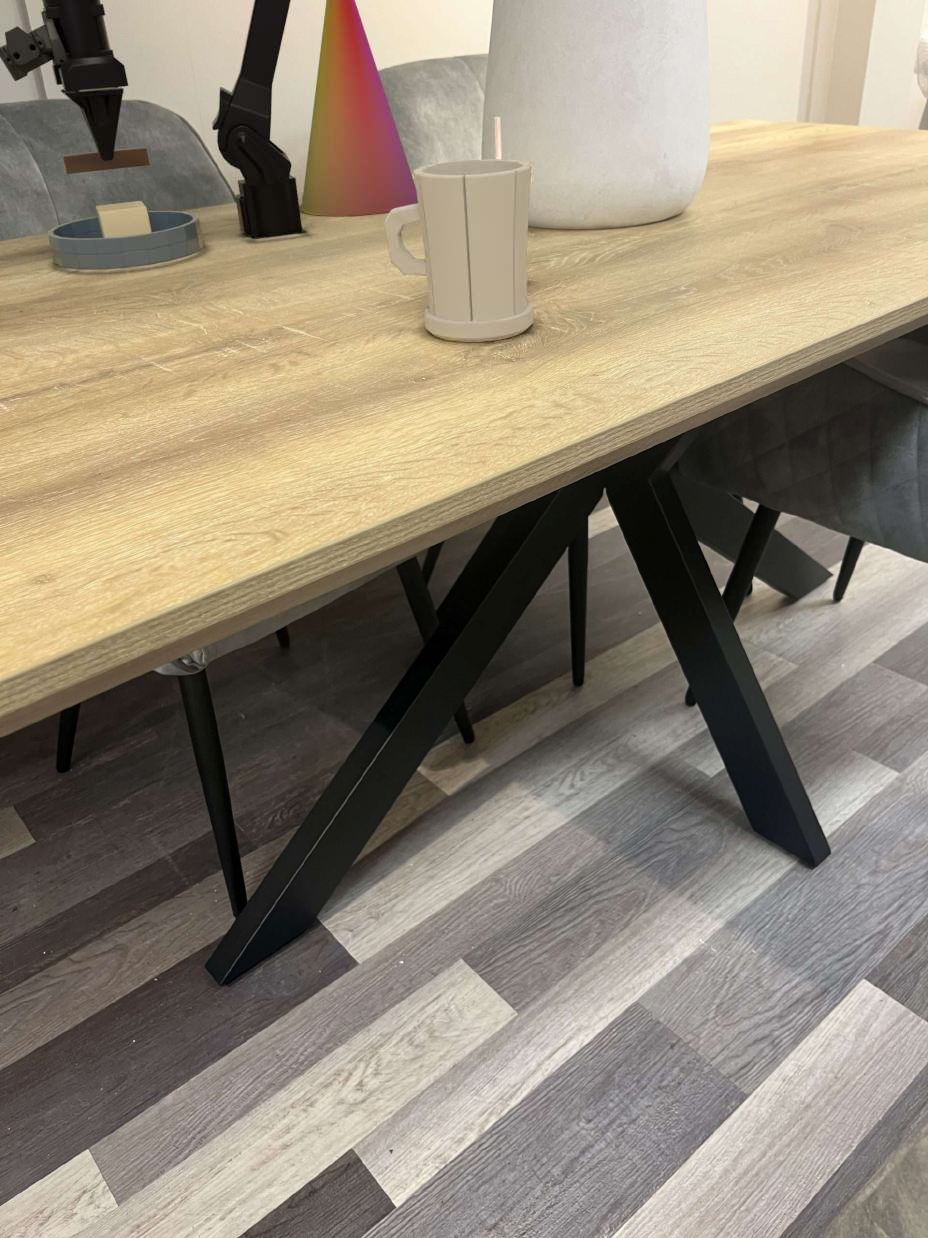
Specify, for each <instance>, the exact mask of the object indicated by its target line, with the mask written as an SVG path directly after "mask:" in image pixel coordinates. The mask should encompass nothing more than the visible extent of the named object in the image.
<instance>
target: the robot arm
mask: <svg viewBox="0 0 928 1238" xmlns="http://www.w3.org/2000/svg"><path fill="white" fill-rule="evenodd" d="M41 1H42V5H43V8H42V9H43V10H41V11H40V15H41V18H42V22H43V23H42V24H43V25H40V26H39V27H36V28H35V29H33V30H30V31H29V32H26V31H24V30H23V29H22V28H21V27H19V26H15V27H13V28H11V29H9V30H7V31H5V32H4V36H5V44H4V45H2V46H0V59H1V61H2V63H3V64H4V66H5V68H6V69H7V71H8V73H9V74H10V76H11V77H12V79H13V81H14V82H17V81H19V80H21V79H23V78H26V77H27V76H28V74H29V73H30V72H32V71H35V70H36V69H38V68H39V67H40V68H41V66H43V65H46V64H48V63H49V62H51V61H52V64H51V69H52V72H53V73H52V74H53V77H54V80H55V85H56V86H57V85H58V86H59V85H61V86H62V88H63V89H60V92H61V93H62V94H63V95H65V96H66V97H67V98H68V99H69V100H70V101H72V102H73V103H74V104H76V105H77V106H78V107H79V110H80V112H81V114H82V116H83V117H82V118H83V119H84V121H85V122H84V123H85V124H86V126H87V128H88V131H89V133H90V136H91V138H92V141H93V143H94V146H95V147H96V151H99V152H100V155H101V157H102V159H103V160H112V159H113V155H114V149H115V146H116V142H117V141H116V140H117V134H118V127H119V120H120V115H121V108H122V101H123V95H124V92H125V91H124V88H123V87H129V82H128V76H127V73H126V67H125V64H123V63H122V62H121V61H120V60H119V59H117V58H116V57H115V55H114V50H113V49H111V45H110V40H109V36H108V31H107V27H106V21H105V18H104V17H105V16H106V12H105V7H104V4H103V3H102V2H101V0H41ZM291 2H292V1H291V0H253V4H252V5H253V6H252V10H251V15H250V20H249V23H248V24H249V25H248V30H247V34H246V39H245V43H244V45H245V46H244V48H243V49H244V50H243V54H242V59H241V64H240V69H239V73H238V75H237V78H236V80H235V82H234V86H233V88H232V90H231V91H230V90H228V89H226V88H224V87H222V86H220V87H219V96H218V100H219V101H218V111H217V113H216V116H215V117H214V119H213V121H212V122H211V123H212V127H211V128H212V130H213V131H217V132H216V133H217V134H216V135H217V136H216V141H217V142H216V143H217V148H218V151H219V154H220V155H221V156H222V158H223V160H225V162H227V163H228V164H229V165H230V166H231V167H233V168H235V169H237V170H239V172H240V174H241V175H242V177H243V179H238V180H237V184H238V191H239V193H237V194H236V195H235V197H234V198H235V204H236V209H237V216H238V221H239V228H240V231H241V232H242V233H243V234H244V235H246V236H248V237H249V238H250V239H251V240H258V239H267V238H275V237H283V236H290V235H291V236H292V235H299V234H307V230H306V229H305V228H303V225H302V216H301V210H300V203H299V202H300V201H299V194H298V187H297V178H296V176H293V175H291V170H292V162H291V161H290V159H289V157H288V154H287V153H286V152H285V151H284V150H282V148H280V147H279V146H278V145H276V143H274V142H273V141H272V140H271V130H272V129H271V128H272V107H273V106H272V104H273V103H272V101H273V100H272V99H273V83H274V79H275V74H276V70H277V65H278V60H279V56H280V51H281V47H282V42H283V37H284V34H285V28H286V24H287V19H288V14H289V11H290V6H291Z"/></svg>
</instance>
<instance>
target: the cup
mask: <svg viewBox="0 0 928 1238" xmlns="http://www.w3.org/2000/svg"><path fill="white" fill-rule="evenodd" d="M531 170H532V164H531V162H528V161H524V160H519V159H518V160H517V159H503V158H502V159H496V158H488V159H487V158H484V159H483V158H482V159H464V160H454V161H453V160H452V161H444V162H439V163H438V162H437V163H432V164H427V165H423V166H420V167H418V168H415V169H414V170H413V180H414V184H415V187H416V192H417V199H418V203H416V204H412V205H407V206H402V207H398V208H394V209H392V210H391V211H390V212H388V215H387V216H386V217H385V219H384V221H383V223H384V228H385V229H384V230H385V235H386V242H387V248H388V254H389V261H390V263H391V264H392V265H393V266H394V267H396V269H397V270H398V271H399V272H400V273H402V275H403V276H404V275H405V276H421V277H422V276H425V277H426V282H427V292H428V294H427V295H428V306H427V307H426V308H425V309H424V326H425V330H427V331H428V332H429V333H430V334H432V335H433V336H434V337H436V338H439V339H441V340H444V341H445V340H446V341H451V342H457V343H458V342H461V343H481V342H484V343H485V342H492V341H500V340H506V339H510V338H513V337H516V336H518V335H520V334H522V333H524V332H526V331H527V330H528V329H529V328H530V326H532V324H533V323H534V307H533V303H532V302H529V300H528V242H529V241H528V238H529V215H530V214H529V213H530V195H531V185H530V181H531ZM418 222H420V227H421V236H422V242H423V251H424V258H417V257H416V256H414V255H413V253H412V252H411V251H409V249H407V248H406V246H405V245H404V241H403V235H402V231H403V229H404V227H406V226H407V225H409V224H413V223H418Z"/></svg>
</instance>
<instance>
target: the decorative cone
mask: <svg viewBox="0 0 928 1238" xmlns="http://www.w3.org/2000/svg"><path fill="white" fill-rule="evenodd" d="M318 59H319V60H318V67H317V76H316V85H315V92H314V101H313V109H312V117H311V125H310V135H309V143H308V151H307V159H306V168H305V176H304V184H303V192H302V199H301V200H302V201H301V210H300V211H302V212H303V213H305V214H310V215H314V216H315V215H316V216H326V217H331V216H332V217H350V216H367V215H376V214H383V213H390V211H391V210H392V209H394V208H398V207H402V206H407V205H412V204H416V203H418V199H417V192H416V186H415V180H414V176H413V175H412V172H411V169H410V166H409V162H408V159H407V156H406V153H405V150H404V147H403V144H402V142H401V137H400V135H399V132H398V128H397V126H396V122H395V119H394V117H393V113H392V111H391V107H390V105H389V104H390V103H389V101H388V98H387V95H386V92H385V88H384V86H383V83H382V79H381V77H380V73H379V70H378V67H377V64H376V61H375V58H374V54H373V52H372V49H371V45H370V42H369V39H368V37H367V34H366V30H365V26H364V24H363V20H362V18H361V14H360V12H359V8H358V6H357V3H356V0H325V9H324V17H323V26H322V33H321V42H320V51H319V58H318Z"/></svg>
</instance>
